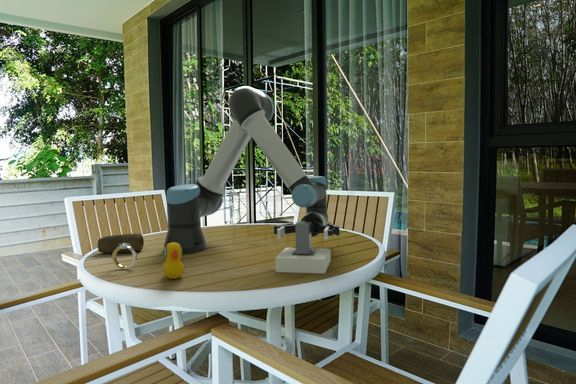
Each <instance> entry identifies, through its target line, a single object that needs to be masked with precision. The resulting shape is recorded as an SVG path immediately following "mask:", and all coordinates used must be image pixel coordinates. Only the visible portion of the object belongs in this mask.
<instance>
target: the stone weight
mask: <svg viewBox="0 0 576 384" xmlns="http://www.w3.org/2000/svg"><path fill="white" fill-rule="evenodd" d="M123 243H127V244H128V243H129V244H130V247H132V248H134V249H135V251H136V252H140V251H142V250H143V249H144V243H145V241H144V237H143V234H141V233H125V234H124V233H123V234H114V235H107V236H103V237H101V238H99V239H98V241H97V250H98V252H99V253H104V254H113V252H114V250H115V249H116V248H117V247H119V246H120V244H121V245H122V244H123ZM122 252H125V253H132V252H131V250H129V249H128V248H125V249H121V248H120V250H119V251H117V253H116V254H121V253H122ZM122 254H123V253H122Z"/></svg>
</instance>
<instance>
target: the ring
mask: <svg viewBox="0 0 576 384" xmlns="http://www.w3.org/2000/svg"><path fill="white" fill-rule="evenodd" d="M120 248H121V249H125V248H128V249H129V250H131V252H130V253H131V254H132V256H133V257H132V258H133V259H132V262H131V264H130V265H121V264H120V263H119V262H118V260H117V254H118V253H117V251H119V250H120ZM111 254H112V257H111V259H112V262H113V263H114V265H115V266H116V267H117V268H119V269H121V270H124V269H126V270H128V269H130V268H132V267H133V266H134V265H135V264H136V262H137V258H138V254H137V251H135V249H134V248H132V247H130V244H129V243H128V244H127V243H123V244H122V245H121V244H120V246H119V247H117V248H116V249H115V250H114V252H113V253H111Z"/></svg>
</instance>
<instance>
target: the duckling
mask: <svg viewBox="0 0 576 384" xmlns="http://www.w3.org/2000/svg"><path fill="white" fill-rule="evenodd" d="M163 252H164V257H165V261H163V266H162V267H163V269H162V271H163V275H164V276H166V277H167V278H168V279H170V280H176V279H179V278H181V276H182V275H183V274H184V273H185V266H184V264H183V263H182V261H181V258H182V254H183V253H182V248H181V246H180V244H178V243H176V242H172V243H169V244H167V245H166V247H165V251H164V250H163Z"/></svg>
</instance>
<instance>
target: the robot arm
mask: <svg viewBox="0 0 576 384" xmlns="http://www.w3.org/2000/svg"><path fill="white" fill-rule="evenodd" d="M228 109H229V111H230V113H231V120H232V123H231V125H230V128H229V129H228V131H227V133H226V135H225V136H224V138H223V140H222V142H221V143H220V146H219V148H218V149H217V151H216V153H215V155H214V156H213V158H212V160H211V162H210V164H209V166H208V167H207V170H206V171H205V173H204V175H202V176H199V177H197V179H196V181H195V183H192V184H191V183H190V184H189V183H188V184H180V185H179V184H178V185H175V186H171V187H169V188H168V189H167V190H166V199H165V201H166V214H167V232H166V235H165V239H164V242H163V243H164V244H163V252H164V251H165V247H166V245H167V244H169V243H172V242H176V243H178V244H180V246H181V248H182V254H190V253H198V252H202V251H204V250H206V249H207V247H208V246H207V240H206V237H205V235H204V232H203V230H202V222H201V220H202V219H201V218H202V217H206V216H211V215H213V214H215V213H217V212H218V210H220V209H221V207H222V205H223V202H224V201H223V200H224V198H223V196H224V194H225V191H226V190H225V188H224V186H225V185H226V183H227V181H228V179H229V177H230V176H231V174H232V172H233V171H234V169H235V167H236V165H237V163H238V162H239V160H240V158H241V156H242V154H243V152H244V150H245V149H246V147H247V145H248V144H249V142H250V139H251V138H252V139H253V140H254V142H255V144H256V145H257V146H258V148H259V149H260V151H261V152H262V153H263V155H264V156H265V157H266V159H267V160H268V163H270V164H271V166H272V167H273V169H274V170H275V172H276V173H277V175H278V176H279V177H280V180H281V181H282V182H283V183H284V185H285V186H286V187H287V189H288V191H289V192H290V194H291V199H292V202H293V203H294V205H296V206H297V207H298V208H299V207H300V208H305V213H306V214H305V215H304V216H303V217H302V218H301V220H300V221H299V222H311V238H312V237H317V236H318V235H319V234H323V240H324V241H328V239H329V238H330V237H331V236H340V226H338V225H336V224H333V223H332V222H330V221H329V215H328V206H327V201H328V200H327V188H328V187H327V179H326V177H325V176H320V175H319V176H317V175H316V176H315V175H314V176H307V174H306V172H305V171H304V170H303V168H302V167H301V166H300V163H299V162H298V161H297V159H296V158H295V157H294V155H293V154H292V153H291V151H290V150H289V148H288V147H287V146H286V144H285V143H284V141H283V140H282V138H281V137H280V136H279V134H278V133H277V132H276V131H275V129H274V127H273V126H272V124H271V123H270V122H269V121H270V120H272V117H273V115H274V113H275V112H274V109H275V107H274V102H273V100H272V99H271V97H270V96H269V95H267V94H266V93H265V92H264V91H262V90H258V89H256V88H254V87H251V86H248V85H246V86H245V85H244V86H240V87H237V88H236V89H234V90H233V91H232V93H231V94H230V96H229V98H228ZM295 224H296V223H294V222H293V221H289V222H288V223H283V224H277V225H274V226H273V234H274V235H276V237H277V238H276V239H277V240H281V239H282V238H283V237H285V236H286V235H288V234H294V233H295V234H296V230H295Z"/></svg>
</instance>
